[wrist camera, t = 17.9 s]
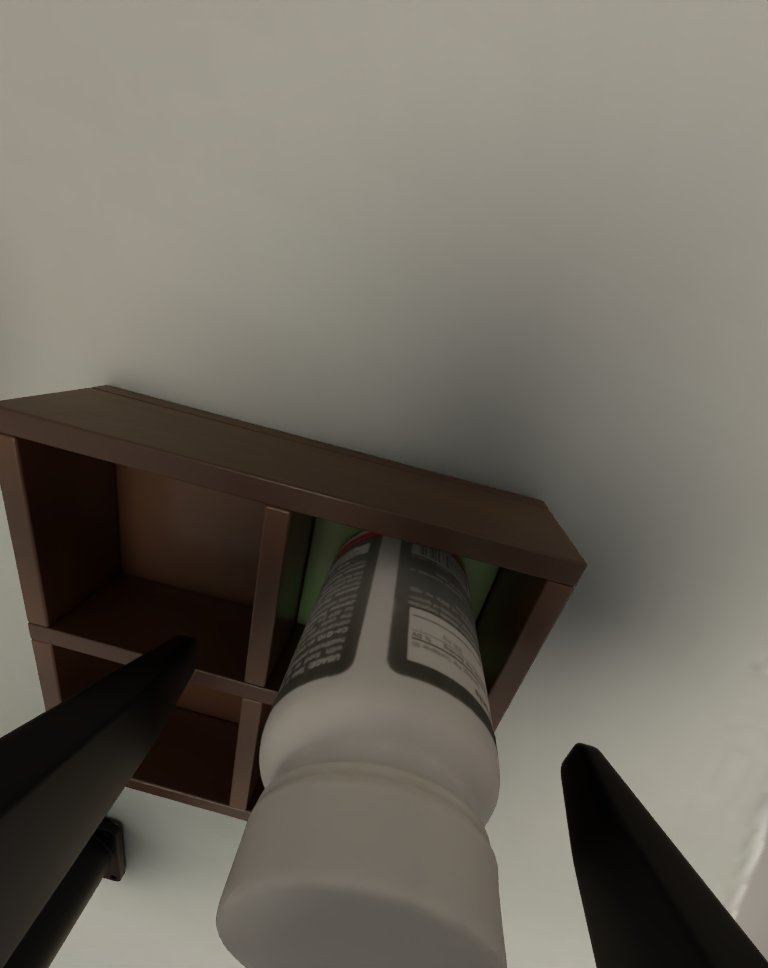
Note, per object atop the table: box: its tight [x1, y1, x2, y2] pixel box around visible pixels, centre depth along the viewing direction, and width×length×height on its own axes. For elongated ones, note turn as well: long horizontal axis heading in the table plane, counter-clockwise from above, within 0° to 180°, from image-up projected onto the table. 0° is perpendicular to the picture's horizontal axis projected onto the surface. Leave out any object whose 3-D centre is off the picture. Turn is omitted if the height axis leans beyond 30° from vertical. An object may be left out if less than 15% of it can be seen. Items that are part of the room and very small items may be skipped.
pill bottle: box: [216, 531, 507, 968], centre depth 9 cm, size 5×5×8 cm
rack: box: [0, 385, 587, 821], centre depth 13 cm, size 15×15×4 cm
